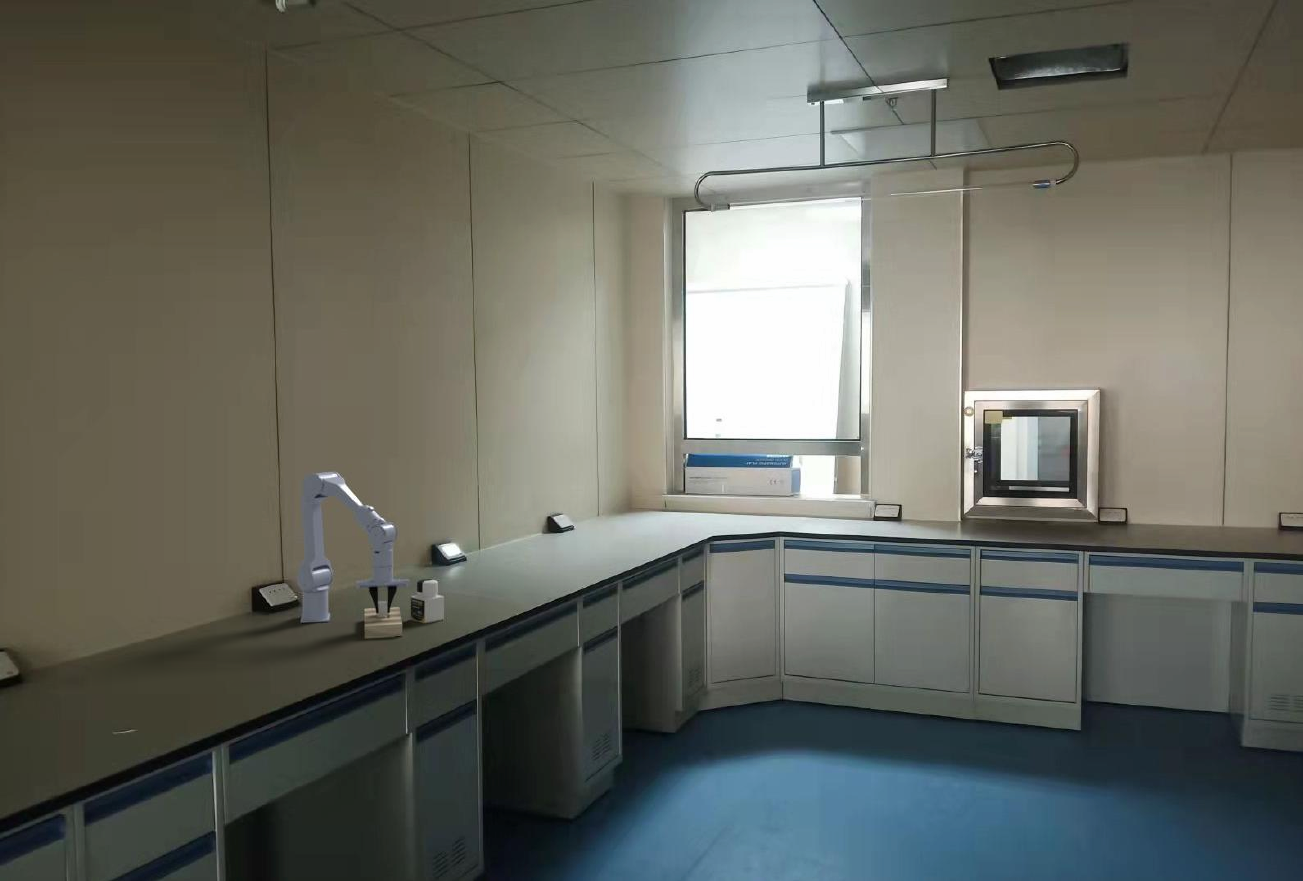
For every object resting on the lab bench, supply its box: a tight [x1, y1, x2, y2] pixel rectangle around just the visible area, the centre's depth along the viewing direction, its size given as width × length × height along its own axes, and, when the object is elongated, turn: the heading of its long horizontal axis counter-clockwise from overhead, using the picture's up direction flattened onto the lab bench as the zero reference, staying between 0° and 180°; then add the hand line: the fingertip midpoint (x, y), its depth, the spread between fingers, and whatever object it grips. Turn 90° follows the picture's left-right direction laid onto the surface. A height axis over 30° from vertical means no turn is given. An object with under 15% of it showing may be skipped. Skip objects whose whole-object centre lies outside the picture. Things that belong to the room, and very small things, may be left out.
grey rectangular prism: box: [378, 600, 388, 618], centre depth 288 cm, size 7×2×7 cm, turn 16°
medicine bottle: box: [410, 578, 445, 624], centre depth 299 cm, size 7×7×12 cm
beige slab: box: [364, 606, 403, 639], centre depth 288 cm, size 22×10×4 cm, turn 16°
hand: (382, 612), depth 288 cm, fingers closed on grey rectangular prism, 2 cm apart
